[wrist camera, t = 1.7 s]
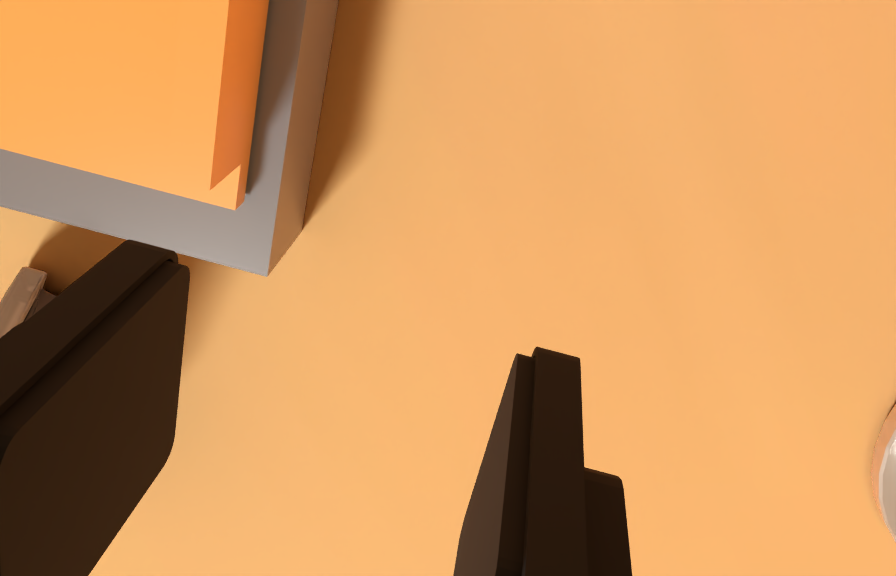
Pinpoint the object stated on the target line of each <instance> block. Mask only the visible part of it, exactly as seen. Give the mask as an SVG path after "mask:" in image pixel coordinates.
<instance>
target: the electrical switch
mask: <svg viewBox="0 0 896 576" xmlns="http://www.w3.org/2000/svg"><path fill="white" fill-rule="evenodd" d="M46 277H47V273H46V272H45V271H41V270H37V269H33V268H30V267H22V269H21V270H20V272H19V273H18V275H17V276H16V278H15V279H14V281H13V282H12V284H11V285H10V287H9V288H8V290H7V292H6V293H5V295H4V297H3V299H2V300H1V302H0V338H1V337H2V336H3V335H5V334H6V333H7V332H8V331H10V330H11V329H12V328H13V327H15V326H17V325H18V324H20V323H22V322H24V321H27V320H28V319H29V318H30V317H32V316H33V315H34V314H35V313H37V312H38V311H39V310H40V309H41V308H43V307H44V306H45V305H46V304H48V303H49V302H50V301H51V300H53V299H54V298H55V297H56V296H55V295H53V294H51V293H49V292H47V291H45V290H43V286H44V283H45V280H46Z"/></svg>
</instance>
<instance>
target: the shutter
mask: <svg viewBox="0 0 896 576" xmlns="http://www.w3.org/2000/svg"><path fill="white" fill-rule="evenodd" d="M268 5H269V0H0V149H4V150H8V151H11V152H15V153H19V154H23V155H27V156H30V157H34V158H38V159H42V160H46V161H49V162H53V163H57V164H61V165H65V166H68V167H72V168H76V169H80V170H84V171H87V172H91V173H95V174H99V175H103V176H106V177H110V178H114V179H118V180H122V181H125V182H129V183H133V184H137V185H141V186H144V187H148V188H152V189H156V190H160V191H163V192H167V193H171V194H175V195H179V196H182V197H186V198H190V199H194V200H198V201H201V202H205V203H209V204H213V205H217V206H220V207H224V208H228V209H232V210H236V209H237V208H238V207H239V206H240V205H241V204H242V203H243V202H244V199H245V191H246V183H247V175H248V167H249V159H250V151H251V143H252V134H253V126H254V118H255V110H256V102H257V94H258V86H259V78H260V70H261V61H262V53H263V45H264V37H265V29H266V21H267V13H268Z"/></svg>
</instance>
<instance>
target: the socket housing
mask: <svg viewBox="0 0 896 576" xmlns="http://www.w3.org/2000/svg"><path fill="white" fill-rule="evenodd" d="M338 1H339V0H269V5H268V13H267V21H266V29H265V37H264V45H263V53H262V61H261V70H260V78H259V86H258V94H257V102H256V110H255V118H254V126H253V134H252V143H251V151H250V159H249V167H248V175H247V183H246V191H245V199H244V202H243V203H242V204H241V205H240V206H239V207H238V208H237V209H236V210H232V209H228V208H224V207H220V206H217V205H213V204H209V203H205V202H201V201H198V200H194V199H190V198H186V197H182V196H179V195H175V194H171V193H167V192H163V191H160V190H156V189H152V188H148V187H144V186H141V185H137V184H133V183H129V182H125V181H122V180H118V179H114V178H110V177H106V176H103V175H99V174H95V173H91V172H87V171H84V170H80V169H76V168H72V167H68V166H65V165H61V164H57V163H53V162H49V161H46V160H42V159H38V158H34V157H30V156H27V155H23V154H19V153H15V152H11V151H8V150H4V149H0V206H1V207H5V208H9V209H12V210H16V211H20V212H24V213H28V214H31V215H35V216H39V217H43V218H46V219H50V220H54V221H58V222H62V223H65V224H69V225H73V226H77V227H81V228H84V229H88V230H92V231H96V232H100V233H103V234H107V235H111V236H115V237H118V238H122V239H126V240H129V239H130V240H135V241H138V242H142V243H146V244H150V245H154V246H157V247H161V248H165V249H169V250H172V251H175V253H179V254H183V255H187V256H190V257H194V258H198V259H202V260H206V261H209V262H213V263H217V264H221V265H225V266H228V267H232V268H236V269H240V270H243V271H247V272H251V273H255V274H259V275H262V276H266V277H267V276H268V275H269V274H270V272H271V271H272V270H273V268H274V267H275V266H276V264H277V263H278V262H279V261H280V259H281V258H282V257H283V255H284V254H285V253H286V251H287V250H288V249H289V247H290V246H291V245H292V243H293V242H294V241H295V239H296V238H297V237H298V236H299V234H300V233H301V232H302V226H303V220H304V213H305V207H306V201H307V195H308V188H309V182H310V176H311V170H312V163H313V157H314V151H315V145H316V138H317V132H318V126H319V120H320V113H321V107H322V101H323V95H324V88H325V82H326V76H327V70H328V63H329V57H330V51H331V45H332V38H333V32H334V26H335V20H336V14H337V7H338Z"/></svg>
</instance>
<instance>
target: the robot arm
mask: <svg viewBox="0 0 896 576" xmlns="http://www.w3.org/2000/svg"><path fill="white" fill-rule="evenodd" d="M189 281H190V272H189V268H188V267H187V266H184V265H181V264H178V258H177V254H176V253H175V251H172V250H169V249H165V248H161V247H157V246H154V245H150V244H146V243H142V242H138V241H135V240H130V239H129V240H127V241H125V242H123V243H122V244H121V245H119V246H118V247H117V248H116V249H115V250H113V251H112V252H111V253H110V254H108V255H107V256H106V257H105V258H103V259H102V260H101V261H100V262H98V263H97V264H96V265H95V266H93V267H92V268H91V269H90V270H89V271H87V272H86V273H85V274H84V275H82V276H81V277H80V278H79V279H77V280H76V281H75V282H74V283H72V284H71V285H70V286H69V287H67V288H66V289H65V290H64V291H63V292H61V293H60V294H59V295H58V296H56V297H55V298H54V299H53V300H51V301H50V302H49V303H48V304H46V305H45V306H44V307H43V308H41V309H40V310H39V311H38V312H37V313H35V314H34V315H33V316H32V317H30V318H29V319H28V320H27V321H24V322H22V323H20V324H18V325H17V326H15V327H13V328H12V329H11V330H10V331H8V332H7V333H6V334H5V335H3V336H2V337H1V338H0V576H88V575H89V574H90V572H91V571H92V569H93V568H94V566H95V565H96V564H97V562H98V561H99V559H100V558H101V556H102V555H103V553H104V552H105V551H106V549H107V548H108V546H109V545H110V543H111V542H112V540H113V539H114V538H115V536H116V535H117V533H118V532H119V530H120V529H121V527H122V526H123V524H124V523H125V522H126V520H127V519H128V517H129V516H130V514H131V513H132V511H133V510H134V509H135V507H136V506H137V504H138V503H139V501H140V500H141V498H142V497H143V495H144V494H145V493H146V491H147V490H148V488H149V487H150V485H151V484H152V482H153V481H154V480H155V478H156V477H157V475H158V474H159V472H160V471H161V469H162V468H163V467H164V465H165V463H166V461H167V459H168V457H169V455H170V452H171V449H172V446H173V442H174V437H175V428H176V418H177V407H178V397H179V386H180V376H181V365H182V355H183V344H184V334H185V323H186V313H187V302H188V292H189ZM871 477H872V485H873V493H874V498H875V501H876V503H877V506H878V508H879V511H880V513H881V516H882V518H883V521H884V522H885V524H886V526H887V528H888V529H889V531H890V533H891V535H892V537H893V538H894V540H895V542H896V404H895V406H894V407H893V409H892V410H891V412H890V413H889V415H888V417H887V418H886V420H885V421H884V424H883V426H882V429H881V432H880V434H879V437H878V439H877V442H876V445H875V447H874V455H873V462H872V469H871ZM454 576H632V569H631V559H630V549H629V539H628V529H627V519H626V509H625V499H624V489H623V484H622V480H621V479H620V478H619V477H618V476H615V475H611V474H607V473H604V472H600V471H596V470H592V469H589V468H585V467H584V452H583V423H582V395H581V366H580V358H578V357H574V356H570V355H566V354H563V353H559V352H555V351H551V350H547V349H544V348H540V347H536V348H535V349H534V352H533V354H532V357H529V356H525V355H521V354H518V353H517V354H516V356H515V359H514V361H513V364H512V367H511V371H510V374H509V377H508V380H507V383H506V387H505V390H504V393H503V396H502V399H501V403H500V406H499V409H498V412H497V415H496V419H495V422H494V425H493V428H492V431H491V435H490V438H489V441H488V444H487V447H486V451H485V454H484V457H483V460H482V463H481V467H480V470H479V473H478V476H477V479H476V483H475V486H474V489H473V492H472V495H471V499H470V502H469V505H468V508H467V511H466V515H465V518H464V522H463V526H462V530H461V534H460V539H459V545H458V551H457V557H456V563H455V569H454Z"/></svg>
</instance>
